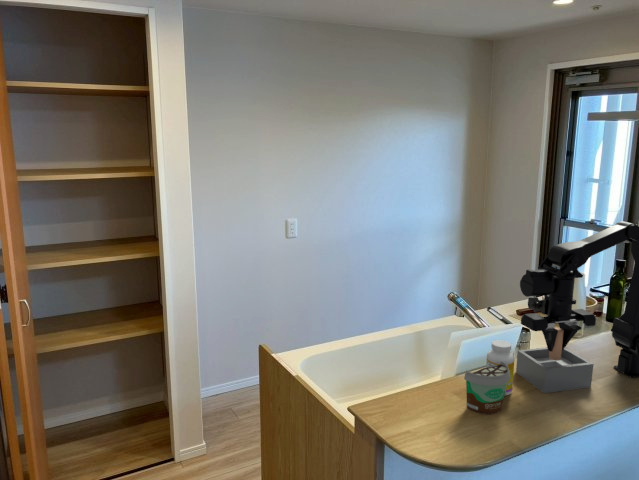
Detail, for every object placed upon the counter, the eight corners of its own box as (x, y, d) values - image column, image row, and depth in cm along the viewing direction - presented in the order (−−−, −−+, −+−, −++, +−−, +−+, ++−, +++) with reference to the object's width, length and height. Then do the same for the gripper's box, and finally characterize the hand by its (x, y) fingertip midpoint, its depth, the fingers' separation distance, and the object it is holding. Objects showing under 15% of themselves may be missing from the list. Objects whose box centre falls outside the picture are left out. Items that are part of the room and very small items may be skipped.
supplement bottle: (508, 384, 135) (511, 339, 133) (515, 397, 129) (519, 349, 126) (482, 383, 136) (485, 338, 134) (487, 396, 130) (491, 348, 127)
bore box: (559, 367, 146) (562, 345, 144) (590, 387, 134) (593, 363, 133) (515, 372, 143) (517, 350, 141) (543, 393, 131) (546, 369, 130)
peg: (555, 355, 139) (558, 327, 137) (563, 359, 136) (566, 331, 134) (546, 356, 138) (548, 328, 137) (553, 360, 135) (556, 332, 134)
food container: (481, 422, 118) (483, 381, 116) (462, 409, 123) (464, 371, 121) (519, 409, 123) (522, 370, 121) (499, 397, 129) (502, 360, 127)
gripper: (570, 282, 143) (565, 335, 146) (510, 287, 139) (506, 341, 142) (600, 294, 133) (594, 351, 136) (536, 300, 129) (531, 358, 132)
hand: (555, 350), depth 137 cm, fingers closed on peg, 3 cm apart
